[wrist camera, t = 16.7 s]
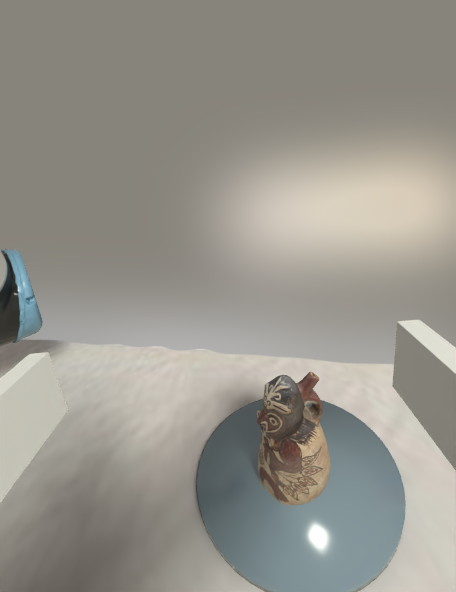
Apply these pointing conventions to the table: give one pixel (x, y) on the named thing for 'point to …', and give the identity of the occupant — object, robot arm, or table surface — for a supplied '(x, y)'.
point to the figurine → (292, 441)
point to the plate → (303, 508)
